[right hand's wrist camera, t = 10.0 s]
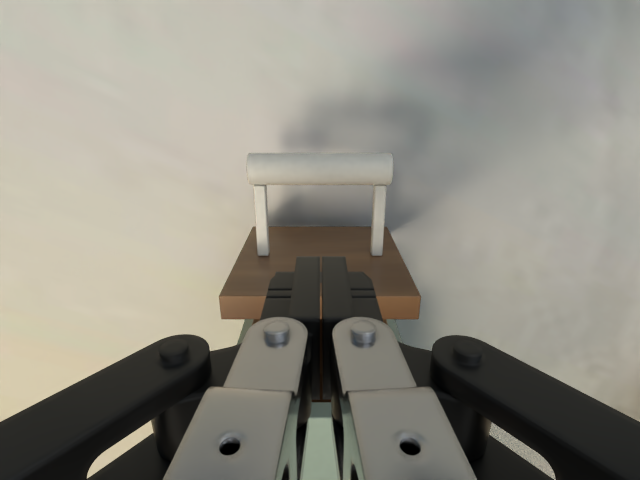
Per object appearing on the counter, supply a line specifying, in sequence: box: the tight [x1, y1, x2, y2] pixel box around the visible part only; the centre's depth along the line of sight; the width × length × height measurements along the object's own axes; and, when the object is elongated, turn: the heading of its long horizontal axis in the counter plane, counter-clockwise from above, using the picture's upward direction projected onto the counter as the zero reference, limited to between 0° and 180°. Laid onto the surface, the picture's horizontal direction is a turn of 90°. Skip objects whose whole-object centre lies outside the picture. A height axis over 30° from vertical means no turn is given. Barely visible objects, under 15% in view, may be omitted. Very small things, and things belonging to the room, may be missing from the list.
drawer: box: [219, 153, 421, 402], centre depth 23 cm, size 17×9×9 cm, turn 0°
